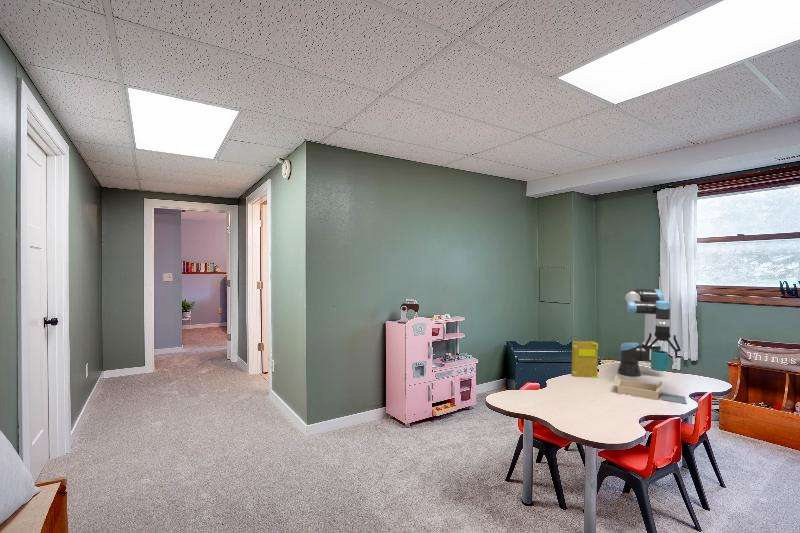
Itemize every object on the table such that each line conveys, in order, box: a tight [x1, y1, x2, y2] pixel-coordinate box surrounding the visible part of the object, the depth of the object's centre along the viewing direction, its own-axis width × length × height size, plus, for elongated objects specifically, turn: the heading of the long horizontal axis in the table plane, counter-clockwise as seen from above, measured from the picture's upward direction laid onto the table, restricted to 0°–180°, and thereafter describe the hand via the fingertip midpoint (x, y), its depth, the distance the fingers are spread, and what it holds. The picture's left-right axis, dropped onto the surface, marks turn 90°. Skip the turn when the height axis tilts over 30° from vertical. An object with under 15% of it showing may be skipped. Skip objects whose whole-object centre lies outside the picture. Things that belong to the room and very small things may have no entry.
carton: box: [613, 374, 664, 401], centre depth 255 cm, size 18×26×8 cm
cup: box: [650, 350, 674, 372], centre depth 248 cm, size 9×12×11 cm
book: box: [571, 340, 599, 379], centre depth 294 cm, size 17×7×25 cm, turn 84°
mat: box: [661, 392, 688, 405], centre depth 245 cm, size 15×12×1 cm
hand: (662, 360), depth 248 cm, fingers closed on cup, 12 cm apart
